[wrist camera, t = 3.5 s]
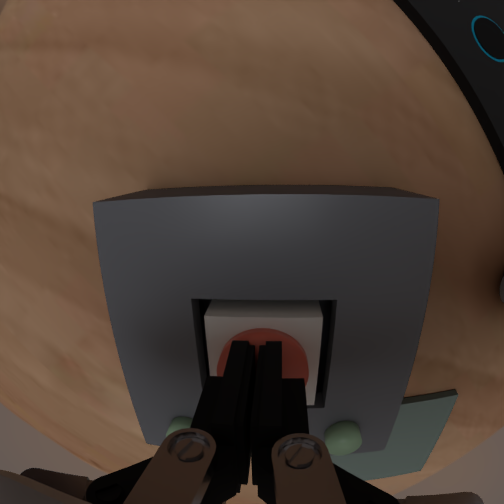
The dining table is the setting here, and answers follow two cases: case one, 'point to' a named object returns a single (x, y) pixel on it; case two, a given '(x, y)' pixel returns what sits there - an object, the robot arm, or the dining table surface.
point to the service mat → (404, 439)
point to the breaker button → (268, 334)
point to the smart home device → (469, 54)
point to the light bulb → (502, 290)
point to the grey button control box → (270, 292)
